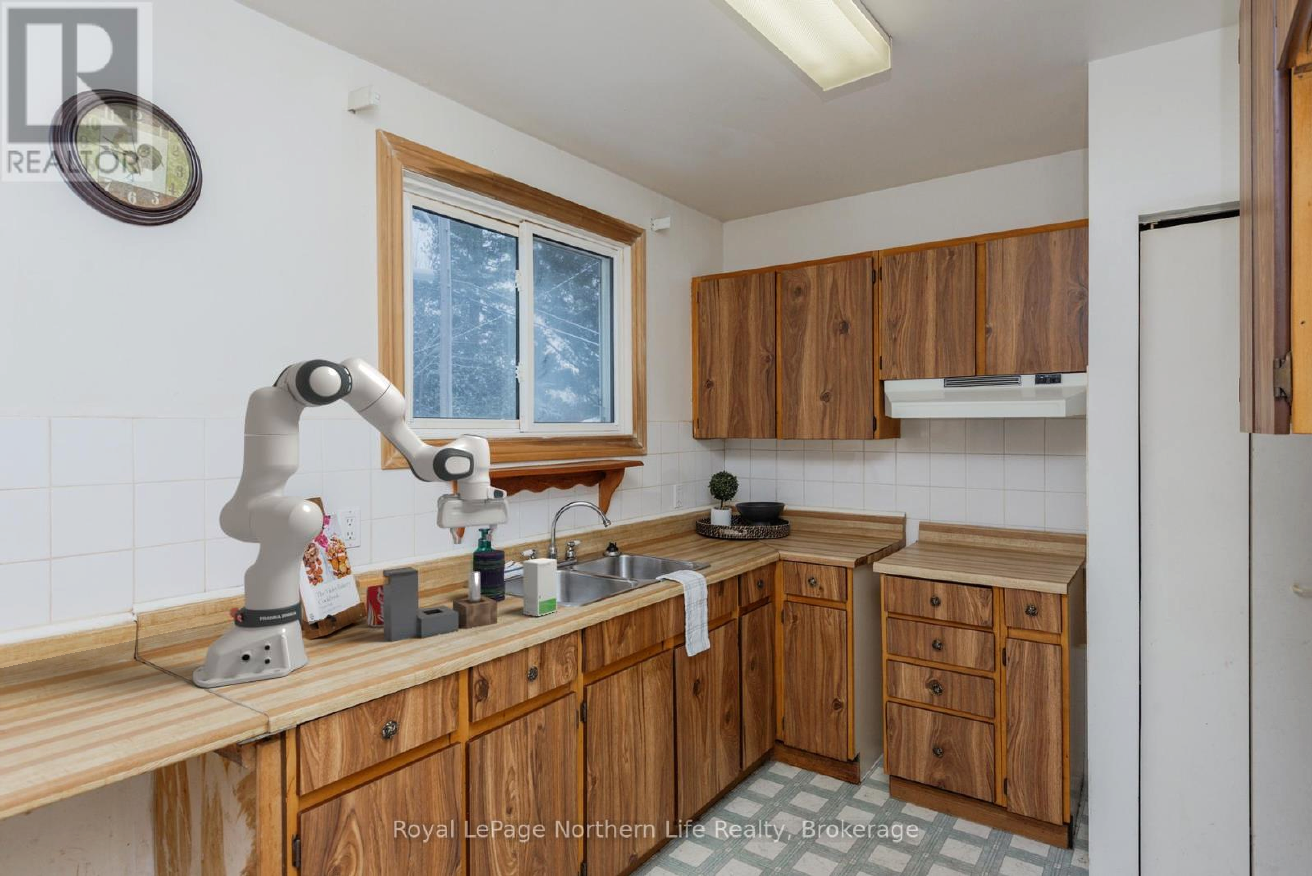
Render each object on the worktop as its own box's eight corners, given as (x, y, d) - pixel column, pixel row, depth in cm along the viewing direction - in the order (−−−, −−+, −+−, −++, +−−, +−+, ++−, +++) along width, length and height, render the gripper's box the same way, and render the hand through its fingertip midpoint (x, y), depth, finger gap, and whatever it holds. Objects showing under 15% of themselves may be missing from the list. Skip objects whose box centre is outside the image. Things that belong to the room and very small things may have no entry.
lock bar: (359, 587, 175) (359, 581, 175) (357, 586, 177) (356, 580, 177) (415, 580, 184) (415, 574, 184) (412, 578, 186) (412, 572, 186)
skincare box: (537, 617, 200) (537, 563, 200) (521, 614, 204) (521, 561, 204) (558, 611, 207) (558, 559, 206) (542, 608, 211) (542, 556, 210)
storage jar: (509, 596, 226) (509, 550, 226) (499, 603, 217) (499, 555, 216) (479, 595, 227) (479, 549, 227) (468, 603, 218) (468, 555, 217)
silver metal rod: (467, 622, 196) (466, 572, 195) (477, 620, 198) (477, 570, 198) (471, 624, 193) (471, 574, 193) (482, 622, 195) (482, 572, 195)
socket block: (394, 643, 177) (393, 575, 176) (381, 634, 184) (380, 569, 184) (458, 631, 187) (457, 566, 187) (443, 623, 195) (443, 561, 195)
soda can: (371, 630, 189) (371, 585, 189) (363, 624, 194) (362, 581, 194) (397, 625, 193) (397, 581, 193) (389, 619, 199) (388, 577, 199)
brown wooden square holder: (466, 628, 189) (466, 606, 189) (453, 622, 196) (452, 600, 196) (497, 622, 195) (496, 601, 195) (482, 616, 202) (482, 595, 202)
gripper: (442, 495, 186) (442, 547, 186) (511, 491, 199) (511, 540, 199) (433, 493, 191) (432, 544, 191) (501, 490, 204) (501, 538, 204)
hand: (473, 542), depth 195 cm, fingers open, 8 cm apart
